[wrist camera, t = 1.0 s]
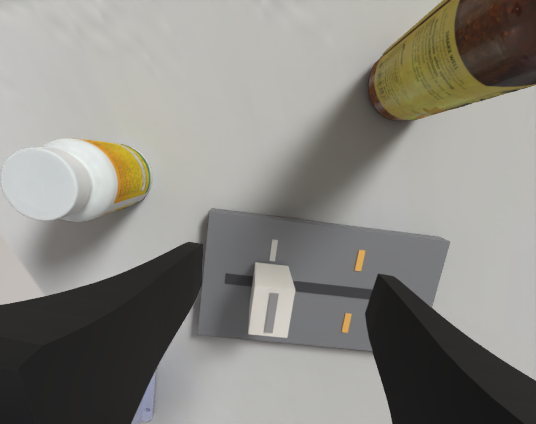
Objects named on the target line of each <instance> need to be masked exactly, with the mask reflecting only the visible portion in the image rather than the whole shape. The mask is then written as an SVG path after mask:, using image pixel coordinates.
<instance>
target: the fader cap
mask: <svg viewBox="0 0 536 424" xmlns="http://www.w3.org/2000/svg"><path fill="white" fill-rule="evenodd" d="M294 296H295V287H294V283H293V280H292V277H291V273H290V270H289V266H284V265H276V264H267V263H258V262H255V268H254V275H253V283H252V290H251V297H250V308H249V329H248V334H251V335H261V336H272V337H282V338H287V337H288V331H289V325H290V319H291V313H292V307H293V301H294Z"/></svg>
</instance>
